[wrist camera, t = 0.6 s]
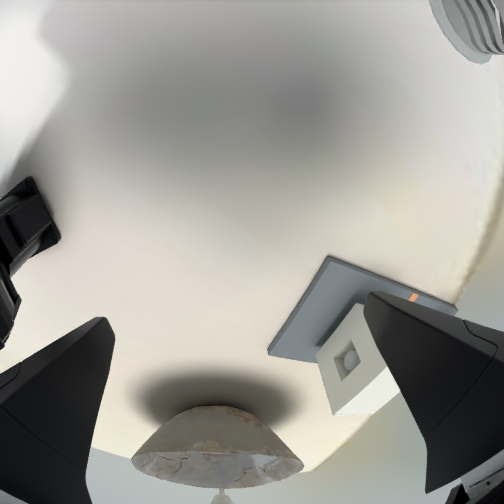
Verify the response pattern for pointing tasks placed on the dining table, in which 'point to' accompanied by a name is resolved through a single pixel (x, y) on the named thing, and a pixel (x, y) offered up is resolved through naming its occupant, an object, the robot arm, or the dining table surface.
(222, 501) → the chalice
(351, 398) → the sleeve
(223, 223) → the dining table surface
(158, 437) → the ceramic bowl
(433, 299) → the rod stand
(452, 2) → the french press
